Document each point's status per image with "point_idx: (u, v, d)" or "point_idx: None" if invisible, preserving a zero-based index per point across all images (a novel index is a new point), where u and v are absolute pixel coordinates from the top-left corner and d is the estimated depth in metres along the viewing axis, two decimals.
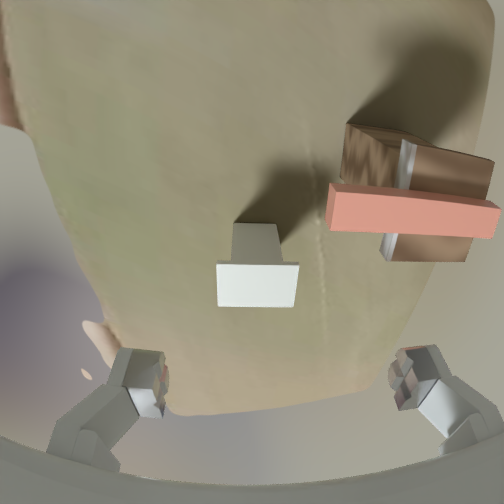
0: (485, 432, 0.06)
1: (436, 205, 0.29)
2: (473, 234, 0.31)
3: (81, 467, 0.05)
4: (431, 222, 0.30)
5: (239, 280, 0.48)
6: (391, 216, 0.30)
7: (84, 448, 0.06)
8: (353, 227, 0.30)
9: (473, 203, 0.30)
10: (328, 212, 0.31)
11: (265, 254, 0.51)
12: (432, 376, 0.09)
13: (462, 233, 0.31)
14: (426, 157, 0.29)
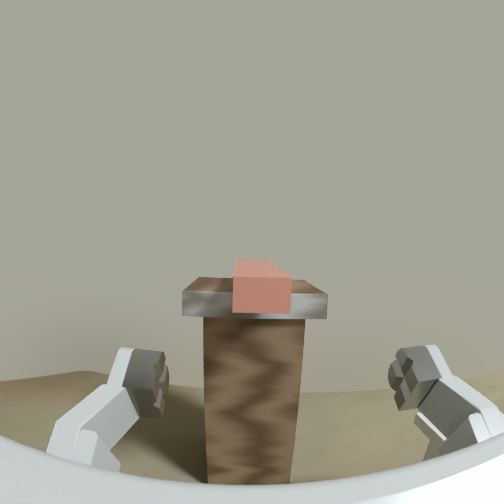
0: (485, 432, 0.06)
1: (241, 264, 0.33)
2: (265, 261, 0.40)
3: (81, 467, 0.05)
4: (260, 265, 0.33)
5: None
6: (260, 269, 0.28)
7: (84, 448, 0.06)
8: (282, 274, 0.24)
9: None
10: (273, 299, 0.22)
11: None
12: (432, 376, 0.09)
13: (266, 262, 0.38)
14: (197, 288, 0.32)
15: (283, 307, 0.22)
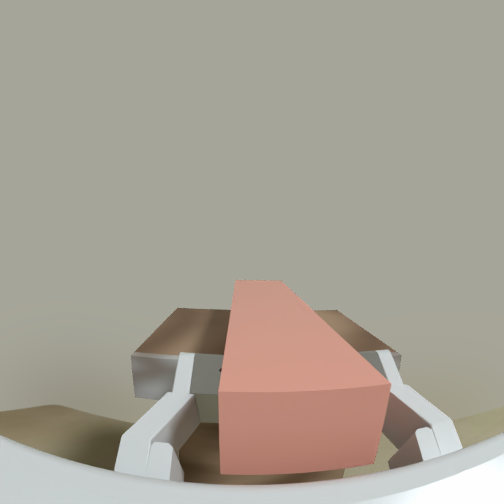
0: (434, 449, 0.06)
1: (242, 300, 0.18)
2: (281, 286, 0.25)
3: (81, 467, 0.05)
4: (278, 301, 0.18)
5: None
6: (283, 324, 0.13)
7: (159, 463, 0.06)
8: (347, 354, 0.09)
9: None
10: (335, 441, 0.07)
11: None
12: None
13: (284, 289, 0.23)
14: (162, 345, 0.17)
15: (359, 454, 0.07)
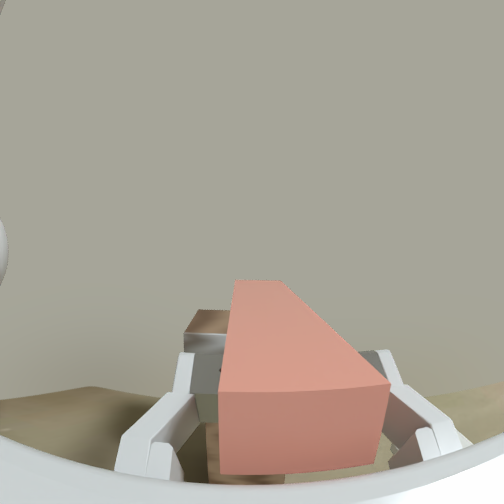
0: (434, 449, 0.06)
1: (242, 300, 0.18)
2: (281, 285, 0.25)
3: (81, 467, 0.05)
4: (277, 301, 0.18)
5: None
6: (283, 323, 0.13)
7: (159, 462, 0.06)
8: (346, 354, 0.09)
9: None
10: (334, 441, 0.07)
11: None
12: None
13: (284, 289, 0.23)
14: (196, 329, 0.35)
15: (359, 454, 0.07)
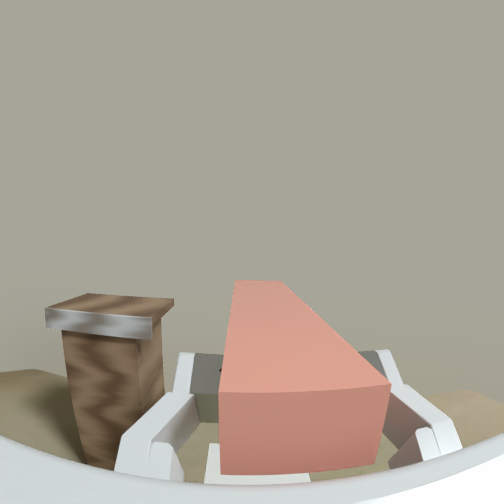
0: (434, 449, 0.06)
1: (242, 301, 0.18)
2: (281, 286, 0.25)
3: (81, 467, 0.05)
4: (277, 301, 0.18)
5: None
6: (283, 324, 0.13)
7: (159, 462, 0.06)
8: (347, 354, 0.09)
9: None
10: (335, 441, 0.07)
11: None
12: None
13: (284, 289, 0.23)
14: (60, 306, 0.34)
15: (359, 455, 0.07)
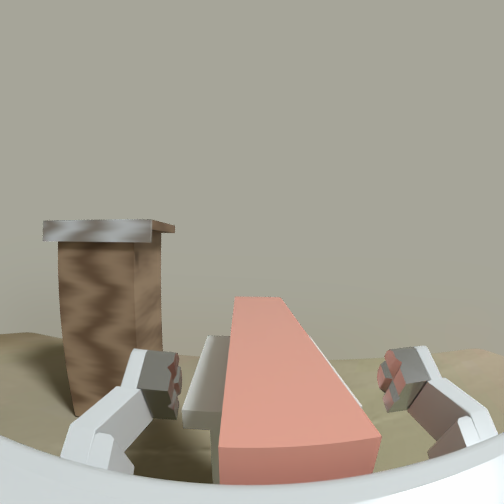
0: (475, 436, 0.06)
1: (241, 326, 0.18)
2: (280, 304, 0.25)
3: (81, 467, 0.05)
4: (276, 327, 0.18)
5: None
6: (281, 359, 0.13)
7: (100, 452, 0.06)
8: (342, 400, 0.09)
9: None
10: None
11: None
12: (421, 378, 0.09)
13: (283, 310, 0.23)
14: None
15: None
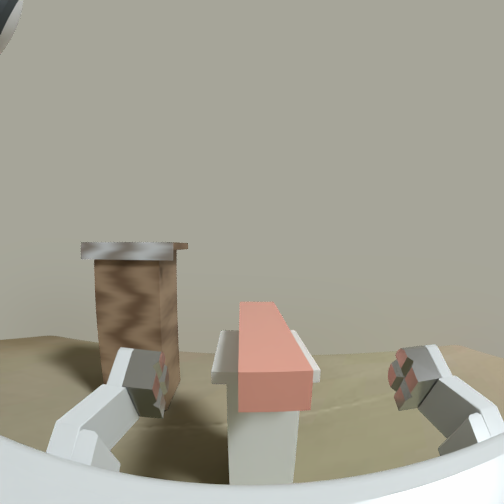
0: (485, 432, 0.06)
1: (245, 322, 0.28)
2: (273, 307, 0.35)
3: (81, 467, 0.05)
4: (268, 322, 0.28)
5: None
6: (269, 339, 0.22)
7: (84, 448, 0.06)
8: (298, 356, 0.19)
9: None
10: (289, 396, 0.16)
11: None
12: (432, 376, 0.09)
13: (274, 311, 0.33)
14: None
15: (302, 404, 0.16)
